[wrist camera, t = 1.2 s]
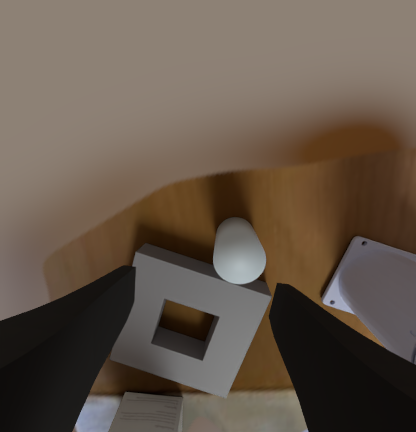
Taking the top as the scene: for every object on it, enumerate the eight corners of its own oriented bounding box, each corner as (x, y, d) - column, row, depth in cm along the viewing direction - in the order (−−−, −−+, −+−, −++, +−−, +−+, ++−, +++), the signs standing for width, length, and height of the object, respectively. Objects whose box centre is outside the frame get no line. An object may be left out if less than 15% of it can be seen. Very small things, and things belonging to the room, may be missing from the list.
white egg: (260, 224, 20) (274, 245, 15) (246, 258, 21) (254, 290, 16) (223, 212, 20) (222, 228, 15) (211, 246, 21) (206, 274, 16)
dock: (266, 282, 22) (271, 296, 19) (225, 376, 25) (225, 398, 23) (145, 242, 22) (135, 251, 20) (120, 341, 25) (109, 359, 23)
